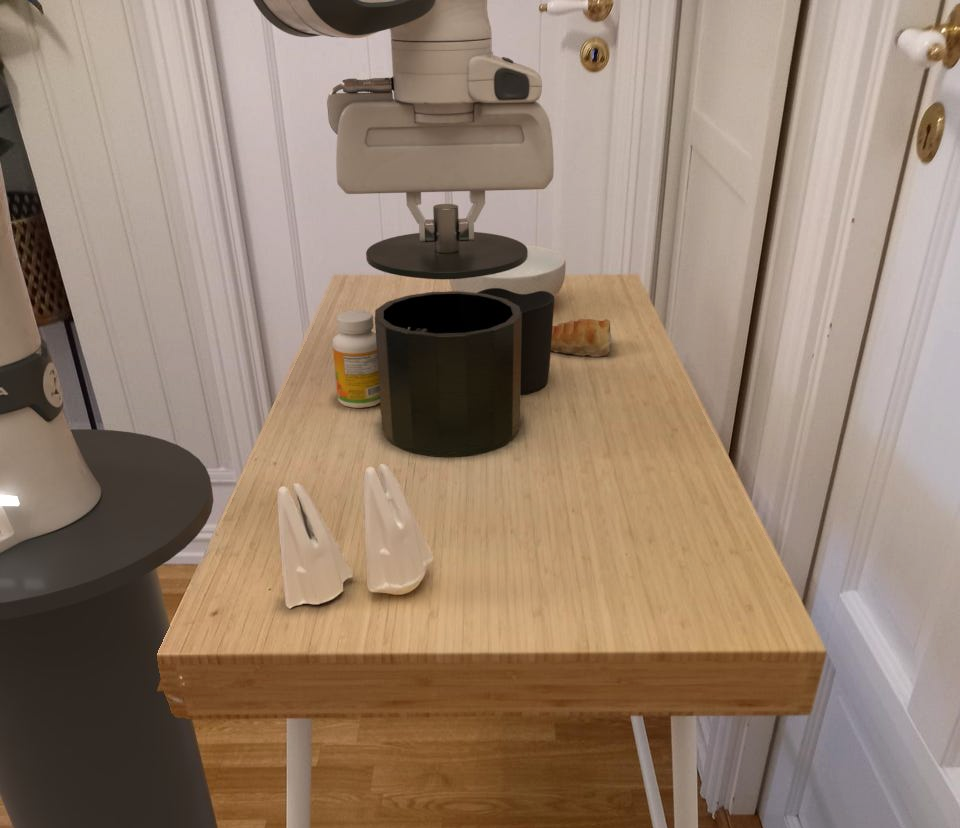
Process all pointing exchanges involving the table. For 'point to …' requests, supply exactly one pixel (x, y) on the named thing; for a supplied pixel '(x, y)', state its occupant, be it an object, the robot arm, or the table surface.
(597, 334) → the pastry
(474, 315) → the tin
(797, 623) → the table surface
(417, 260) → the lid
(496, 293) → the pen holder
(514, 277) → the cereal bowl
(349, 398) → the supplement bottle
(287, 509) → the shaker set
